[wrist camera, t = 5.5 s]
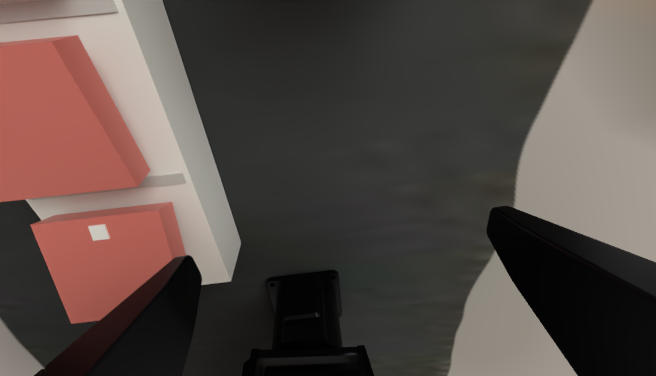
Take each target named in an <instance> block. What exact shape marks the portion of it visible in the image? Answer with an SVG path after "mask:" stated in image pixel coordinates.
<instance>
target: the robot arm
mask: <svg viewBox="0 0 656 376" xmlns="http://www.w3.org/2000/svg"><path fill="white" fill-rule="evenodd" d="M487 235H488V238H489V239H490V241H491V243H492V245H493V247H494V249H495V250H496V252H497V254H498V256H499V258H500V259H501V261H502V263H503V265H504V267H505V269H506V270H507V272H508V274H509V276H510V277H511V279H512V281H513V282H514V284H515V285H516V287H517V288H518V290H519V291H520V293H521V294H522V296H523V297H524V299H525V300H526V302H527V303H528V304H529V306H530V307H531V308H532V310H533V312H534V313H535V315H536V316H537V317H538V319H539V320H540V322H541V323H542V325H543V326H544V328H545V329H546V330H547V332H548V333H549V335H550V336H551V338H552V339H553V341H554V342H555V343H556V345H557V346H558V348H559V349H560V351H561V352H562V354H563V355H564V357H565V358H566V359H567V361H568V362H569V364H570V365H571V366H572V368H573V369H574V371H575V372H576V374H577V375H578V376H656V262H653V261H651V260H648V259H645V258H643V257H640V256H637V255H635V254H632V253H630V252H627V251H624V250H622V249H619V248H617V247H614V246H611V245H609V244H606V243H604V242H601V241H598V240H595V239H593V238H590V237H587V236H585V235H583V234H580V233H577V232H575V231H572V230H569V229H567V228H564V227H562V226H559V225H556V224H554V223H551V222H549V221H546V220H543V219H541V218H538V217H536V216H533V215H530V214H528V213H525V212H522V211H520V210H517V209H515V208H512V207H509V206H500V207H495V208H492V210H491V211H490V216H489V220H488V225H487ZM201 284H202V276H201V273H200V271H199V269H198V267H197V265H196V263H195V261H194V259H193V258H192V257H191V256H190V255H184V256H178V257H175V258H174V259H172V260H171V261H170V262H169V263H168V264H166V265H165V266H164V267H163V268H162V269H160V270H159V271H158V272H157V273H156V274H154V275H153V276H152V277H151V278H150V279H149V280H147V281H146V282H145V283H144V284H143V285H141V286H140V287H139V288H138V289H137V290H135V291H134V292H133V293H132V294H131V295H129V296H128V297H127V298H126V299H125V300H124V301H122V302H121V303H120V304H119V305H118V306H116V307H115V308H114V309H113V310H112V311H110V312H109V313H108V314H107V315H106V316H104V317H103V318H102V319H101V320H100V321H98V322H97V323H96V324H95V325H94V326H93V327H91V328H90V329H89V330H88V331H87V332H85V333H84V334H83V335H82V336H81V337H79V338H78V339H77V340H76V341H75V342H73V343H72V344H71V345H70V346H69V347H68V348H66V349H65V350H64V351H63V352H62V353H60V354H59V355H58V356H57V357H56V358H54V359H53V360H52V361H51V362H50V363H48V364H47V365H46V366H45V369H41V370H40V371H39V372H38V373H37V374H35V375H34V376H181V375H182V372H183V368H184V364H185V361H186V357H187V354H188V350H189V346H190V343H191V339H192V335H193V331H194V326H195V320H196V314H197V308H198V302H199V296H200V290H201ZM267 288H268V292H269V295H270V299H271V302H272V305H273V309H274V312H275V320H274V331H273V343H272V350H259V349H252V351H251V356H250V360H247V361H246V362H245V363H244V365H243V371H242V376H374V374H373V371H372V368H371V365H370V361H369V358H368V355H367V352H366V349H365V346H364V345H359V346H357V347H343V346H342V339H341V331H340V323H339V317H341V316H342V309H341V298H340V287H339V276H338V272H337V271H335V270H330V271H322V272H314V273H306V274H298V275H290V276H281V277H273V278H269V279H268V280H267Z"/></svg>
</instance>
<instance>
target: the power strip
mask: <svg viewBox="0 0 656 376" xmlns="http://www.w3.org/2000/svg"><path fill="white" fill-rule="evenodd" d="M73 35H78V37H79V38H80V40H81V42H82V44H83V46H84V48H85V50H86V51H87V53H88V55H89V57H90V59H91V61H92V62H93V64H94V66H95V68H96V70H97V72H98V74H99V75H100V77H101V79H102V81H103V83H104V85H105V87H106V88H107V90H108V92H109V94H110V96H111V98H112V99H113V101H114V103H115V105H116V107H117V109H118V111H119V112H120V114H121V116H122V118H123V120H124V122H125V124H126V125H127V127H128V129H129V131H130V133H131V135H132V137H133V138H134V140H135V142H136V144H137V146H138V148H139V149H140V151H141V153H142V155H143V157H144V159H145V161H146V162H147V164H148V166H149V168H150V172H149V173H148V174H147V176H146V177H145V178H144V180H143V181H142V182H141V183H140V185H139V186H138V187H131V188H122V189H113V190H104V191H95V192H86V193H77V194H68V195H59V196H50V197H41V198H32V199H25V200H26V201H27V202H28V203H29V205H30V206H31V207H32V209H33V210H34V211H35V212H36V214H37V215H38V216H39V218H40V219H41V220H44V219H46V218H49V217H51V216H54V215H60V214H68V213H77V212H86V211H95V210H104V209H113V208H121V207H130V206H139V205H148V204H157V203H165V202H172V204H173V208H174V212H175V215H176V219H177V223H178V227H179V231H180V234H181V238H182V242H183V246H184V250H185V253H186V255H190V256H191V257H192V258H193V259H194V261H195V263H196V265H197V267H198V269H199V271H200V273H201V276H202V284H201V285H206V284H214V283H222V282H231V279H232V276H233V272H234V268H235V264H236V261H237V257H238V253H239V249H240V245H241V241H240V238H239V234H238V231H237V228H236V225H235V222H234V219H233V216H232V213H231V210H230V207H229V204H228V201H227V198H226V195H225V191H224V188H223V185H222V182H221V179H220V176H219V173H218V170H217V167H216V164H215V161H214V158H213V155H212V152H211V148H210V145H209V142H208V139H207V136H206V133H205V130H204V127H203V124H202V121H201V118H200V115H199V112H198V109H197V105H196V102H195V99H194V96H193V93H192V90H191V87H190V84H189V81H188V78H187V75H186V72H185V69H184V65H183V62H182V59H181V56H180V53H179V50H178V47H177V44H176V41H175V38H174V35H173V32H172V29H171V26H170V22H169V19H168V16H167V13H166V10H165V7H164V4H163V1H162V0H0V43H1V42H11V41H21V40H32V39H42V38H53V37H63V36H73Z"/></svg>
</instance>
